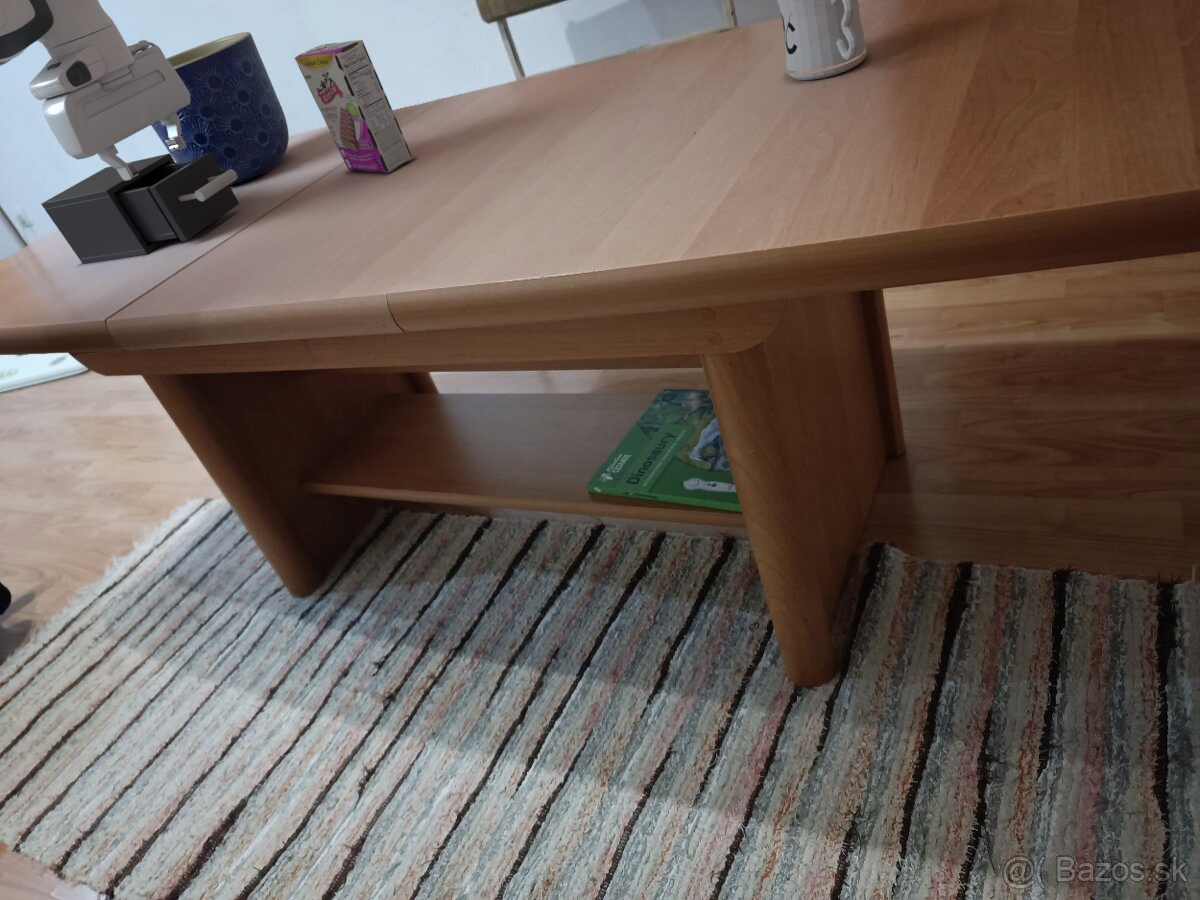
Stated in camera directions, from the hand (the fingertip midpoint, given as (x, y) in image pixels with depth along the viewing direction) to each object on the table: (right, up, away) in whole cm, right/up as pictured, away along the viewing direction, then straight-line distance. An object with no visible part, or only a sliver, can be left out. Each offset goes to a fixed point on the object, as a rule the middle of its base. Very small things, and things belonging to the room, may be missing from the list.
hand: (156, 163), depth 119 cm
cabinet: (-7, -8, +11) cm, 15 cm away
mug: (+88, +4, -20) cm, 90 cm away
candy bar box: (+30, +1, +5) cm, 30 cm away
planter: (+2, +7, +26) cm, 27 cm away
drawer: (+3, -7, +5) cm, 9 cm away
